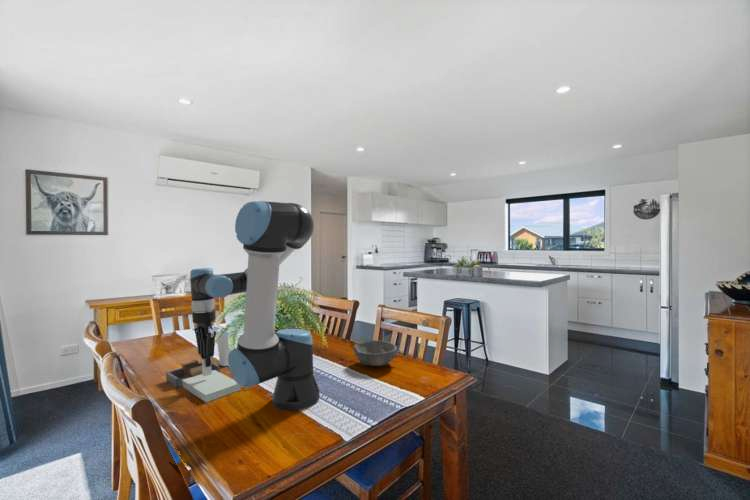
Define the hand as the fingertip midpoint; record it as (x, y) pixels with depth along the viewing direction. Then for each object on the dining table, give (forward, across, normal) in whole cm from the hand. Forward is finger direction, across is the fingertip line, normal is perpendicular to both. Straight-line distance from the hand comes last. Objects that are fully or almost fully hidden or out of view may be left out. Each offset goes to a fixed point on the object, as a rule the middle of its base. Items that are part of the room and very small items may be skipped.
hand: (207, 374), depth 130 cm
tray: (+4, +12, 0) cm, 13 cm away
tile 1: (+1, +14, 0) cm, 14 cm away
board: (+4, -3, 0) cm, 5 cm away
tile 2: (+3, +9, 0) cm, 10 cm away
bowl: (+5, -35, -54) cm, 64 cm away
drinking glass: (+4, +16, -15) cm, 23 cm away
